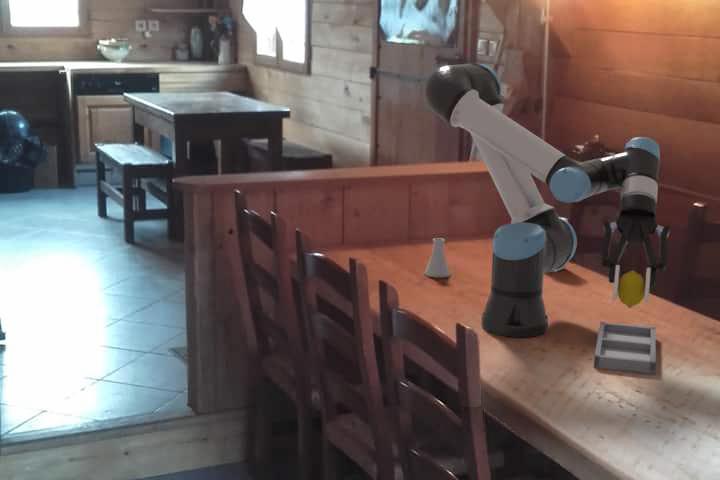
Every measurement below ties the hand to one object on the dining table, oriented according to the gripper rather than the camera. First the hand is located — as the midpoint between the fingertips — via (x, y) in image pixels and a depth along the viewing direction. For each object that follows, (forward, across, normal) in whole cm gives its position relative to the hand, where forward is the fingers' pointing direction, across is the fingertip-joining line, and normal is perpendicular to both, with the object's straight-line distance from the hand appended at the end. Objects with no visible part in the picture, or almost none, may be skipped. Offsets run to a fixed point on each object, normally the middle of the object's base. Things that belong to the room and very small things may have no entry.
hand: (630, 297), depth 197 cm
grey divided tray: (+4, 0, -17) cm, 18 cm away
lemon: (0, 0, -5) cm, 5 cm away
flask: (-28, +51, -50) cm, 77 cm away
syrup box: (-40, +22, -62) cm, 77 cm away
